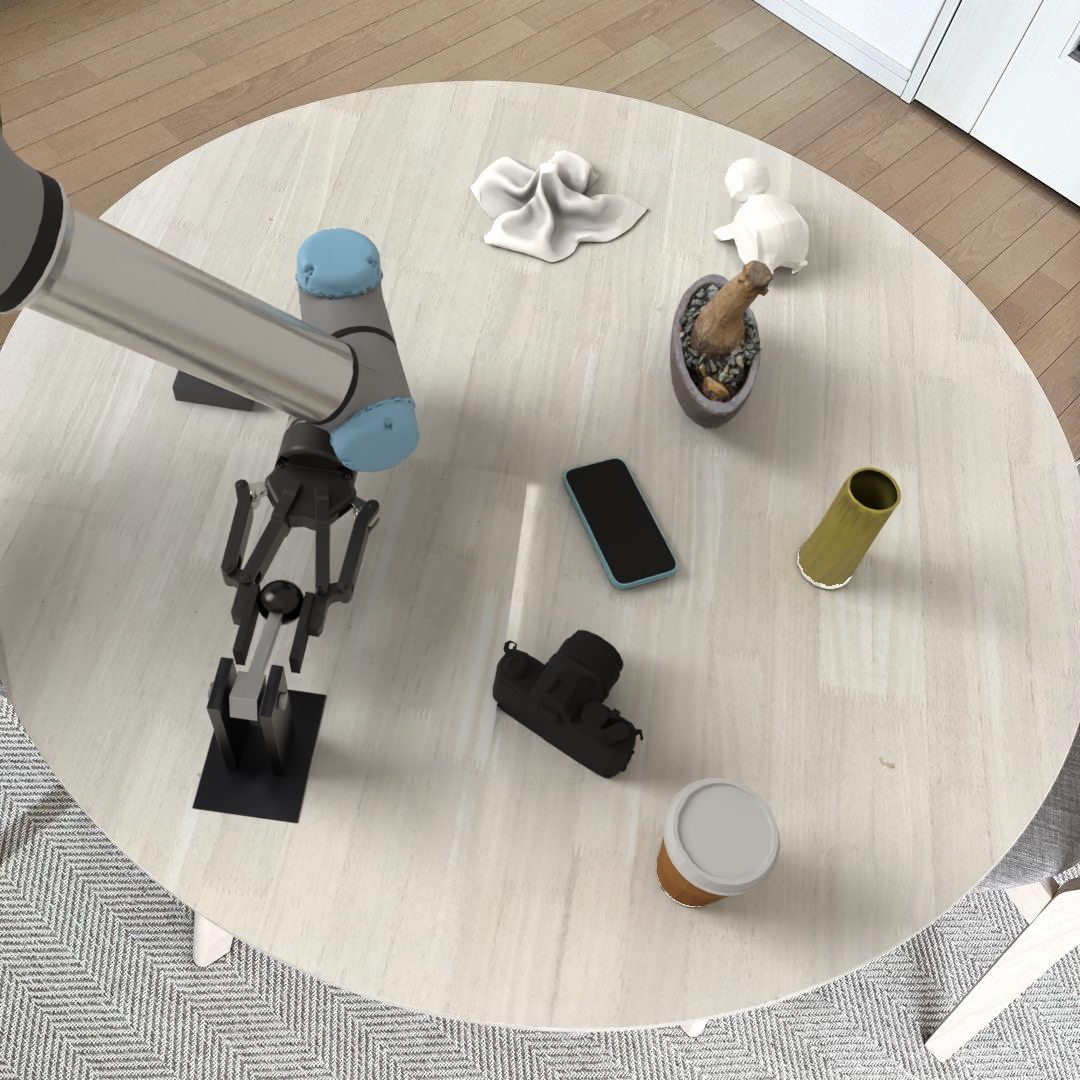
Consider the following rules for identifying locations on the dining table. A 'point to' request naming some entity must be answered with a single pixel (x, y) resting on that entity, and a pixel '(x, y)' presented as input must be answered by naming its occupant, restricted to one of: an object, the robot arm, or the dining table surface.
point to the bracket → (259, 750)
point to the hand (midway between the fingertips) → (266, 661)
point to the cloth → (546, 206)
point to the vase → (849, 526)
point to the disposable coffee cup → (716, 842)
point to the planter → (717, 345)
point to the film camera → (570, 701)
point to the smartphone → (620, 523)
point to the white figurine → (763, 220)
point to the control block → (207, 393)
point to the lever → (265, 646)
